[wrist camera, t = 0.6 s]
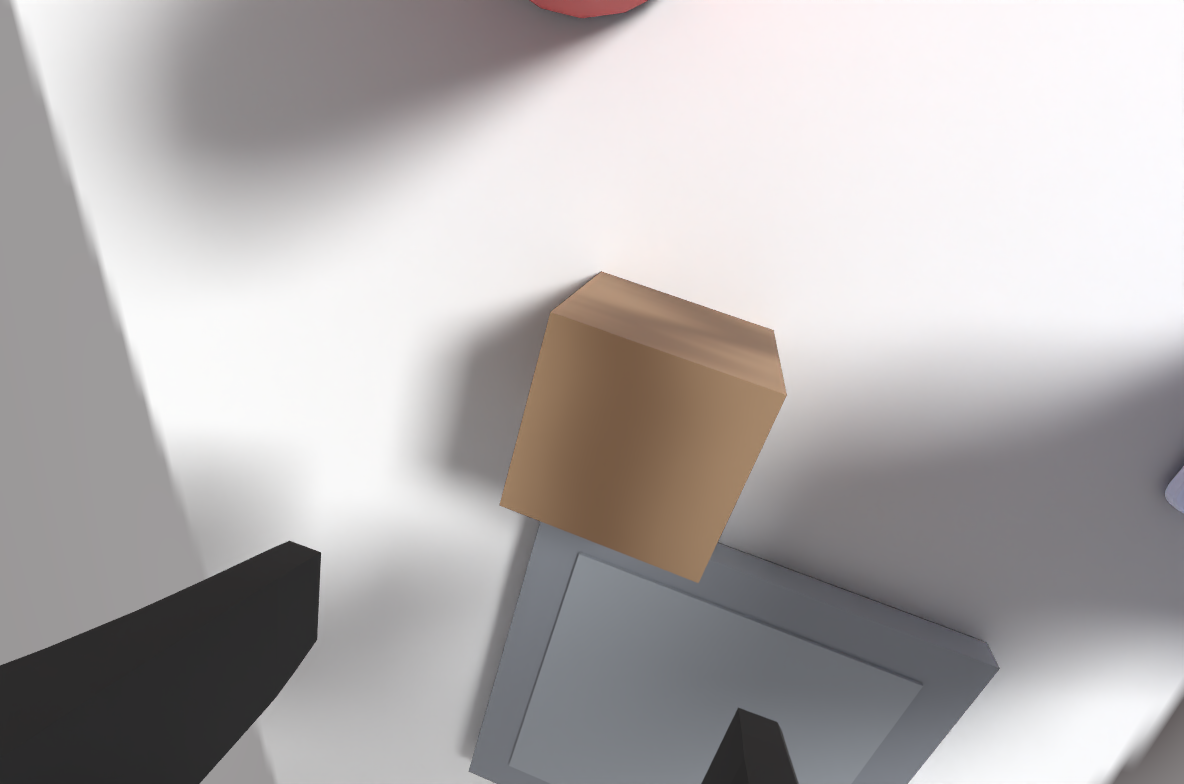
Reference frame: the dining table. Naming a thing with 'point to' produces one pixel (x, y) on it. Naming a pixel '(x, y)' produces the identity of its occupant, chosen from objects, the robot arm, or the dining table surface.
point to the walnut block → (644, 422)
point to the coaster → (712, 672)
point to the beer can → (588, 6)
